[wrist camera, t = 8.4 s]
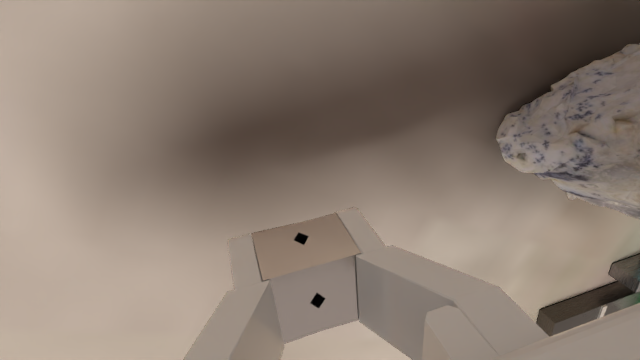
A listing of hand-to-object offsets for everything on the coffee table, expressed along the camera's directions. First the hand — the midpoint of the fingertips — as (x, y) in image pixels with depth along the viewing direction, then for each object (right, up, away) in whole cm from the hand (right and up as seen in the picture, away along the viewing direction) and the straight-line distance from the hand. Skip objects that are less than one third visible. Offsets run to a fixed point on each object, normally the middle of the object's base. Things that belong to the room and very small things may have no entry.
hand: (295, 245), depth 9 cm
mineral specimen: (+12, +5, +7) cm, 14 cm away
